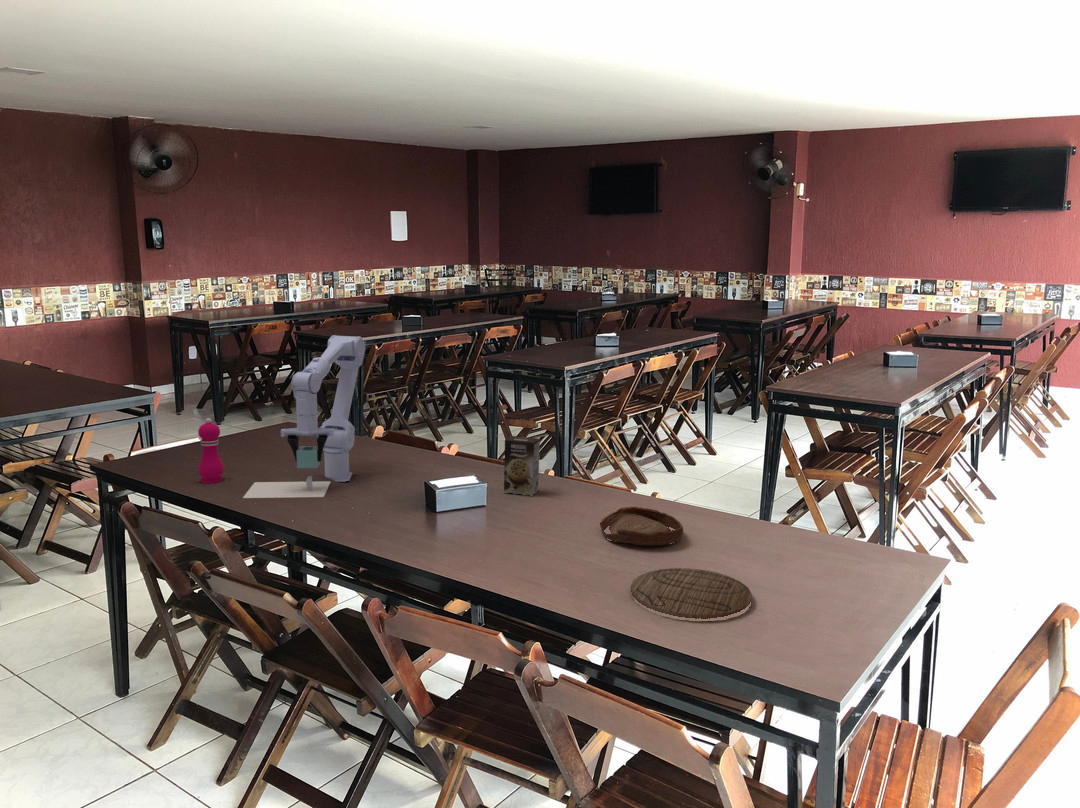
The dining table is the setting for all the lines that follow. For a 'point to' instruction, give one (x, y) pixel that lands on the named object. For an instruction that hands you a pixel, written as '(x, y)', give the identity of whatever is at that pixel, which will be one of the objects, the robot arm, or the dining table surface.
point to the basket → (641, 526)
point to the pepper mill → (210, 453)
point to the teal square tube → (307, 457)
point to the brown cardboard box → (521, 465)
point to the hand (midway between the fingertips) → (308, 460)
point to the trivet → (691, 593)
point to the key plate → (288, 489)
